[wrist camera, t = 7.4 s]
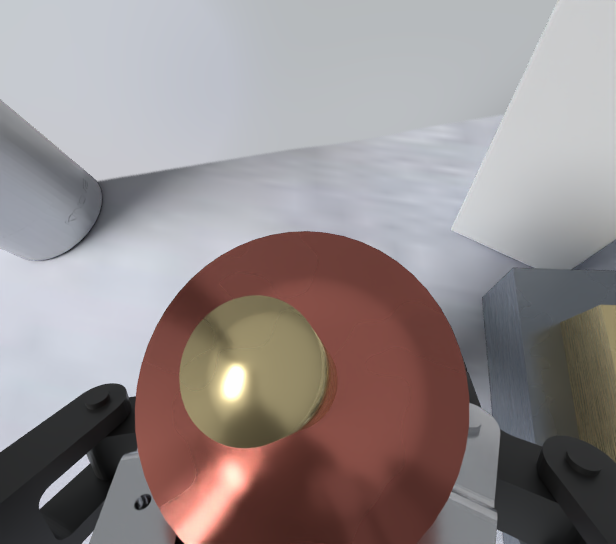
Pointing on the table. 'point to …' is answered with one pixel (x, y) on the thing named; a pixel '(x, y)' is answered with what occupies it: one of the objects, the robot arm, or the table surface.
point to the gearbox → (553, 356)
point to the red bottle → (302, 398)
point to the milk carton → (554, 148)
